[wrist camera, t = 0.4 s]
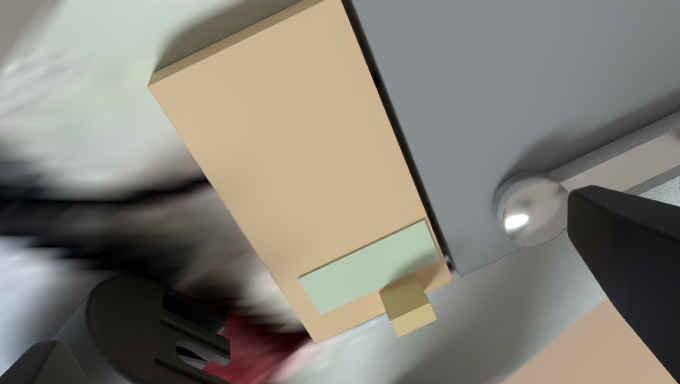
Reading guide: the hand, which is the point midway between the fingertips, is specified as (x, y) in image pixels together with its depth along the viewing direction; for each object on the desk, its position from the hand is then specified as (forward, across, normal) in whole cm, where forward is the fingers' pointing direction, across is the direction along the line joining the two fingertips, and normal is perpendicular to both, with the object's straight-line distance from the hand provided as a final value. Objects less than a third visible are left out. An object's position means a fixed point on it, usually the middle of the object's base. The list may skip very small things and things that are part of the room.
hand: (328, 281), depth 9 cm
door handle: (+12, -14, +8) cm, 20 cm away
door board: (+14, -8, +4) cm, 17 cm away
